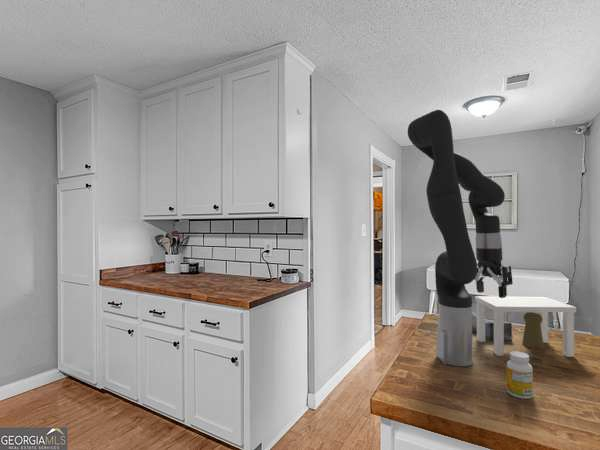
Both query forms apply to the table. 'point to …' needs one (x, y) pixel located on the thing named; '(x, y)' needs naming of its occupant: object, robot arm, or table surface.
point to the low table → (524, 305)
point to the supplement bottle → (519, 375)
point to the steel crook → (492, 328)
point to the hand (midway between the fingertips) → (491, 294)
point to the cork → (533, 331)
